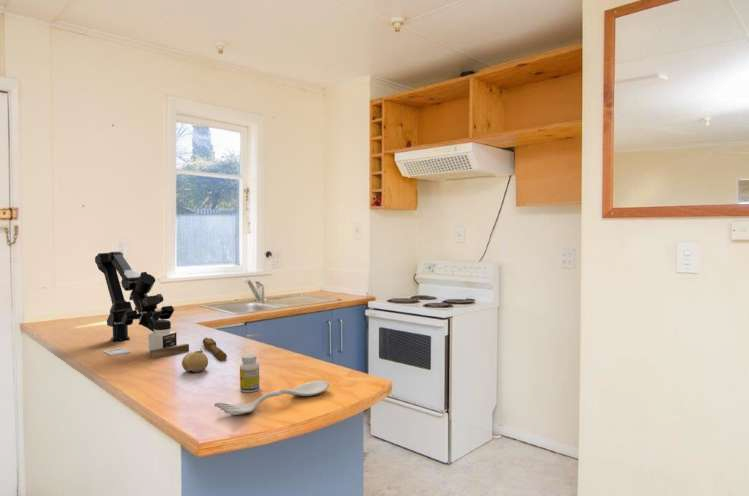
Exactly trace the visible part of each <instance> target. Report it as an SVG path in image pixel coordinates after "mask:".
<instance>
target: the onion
mask: <svg viewBox="0 0 749 496" xmlns="http://www.w3.org/2000/svg"><path fill="white" fill-rule="evenodd" d="M181 365H182V368H183V370H184V371H186V372H187V373H189V374H190V373H191V372H193V373H200V372H202V371H204V370H206V369H207V367H208V365H209V358H208V357H207V356H206V354H205V353H204V351H203V350H202V348H200V349H199V350H195V351H194V350H193V351H189V352H188V353H187V354H185V355H184V356H183V358H182V360H181Z"/></svg>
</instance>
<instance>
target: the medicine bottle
mask: <svg viewBox="0 0 749 496" xmlns="http://www.w3.org/2000/svg"><path fill="white" fill-rule="evenodd" d="M154 332H155V333H154ZM154 332H153V333H152V332H151V333H148V334H147V335H148V336H147V337H148V353H149V354H150V351H151V350H156V349H161V348H166V347H171V346H176V345H178V342H177V331H172V322H171V320H170V319H162V320H161V319H159V320H156V321H155V322H154Z"/></svg>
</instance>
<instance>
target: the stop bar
mask: <svg viewBox="0 0 749 496" xmlns="http://www.w3.org/2000/svg"><path fill="white" fill-rule="evenodd" d="M185 352H190V344H188V343H182V344H177V345H176V346H171V347H166V348H161V349H156V350H151V351H150V353H149V356H150V358H151V359H157V358H161V357H166V356H171V355H175V354H180V353H185Z"/></svg>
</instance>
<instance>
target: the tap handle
mask: <svg viewBox="0 0 749 496" xmlns="http://www.w3.org/2000/svg"><path fill="white" fill-rule="evenodd" d="M202 344H203V347H204V348H205V349H206V350H207V351H211V352H213V354H214V355H215V357H216V358H217V359H218V360H219V361H221V362H222V361H223V362H224V361H226V360H227V358H228V355H227V354H226V352H224V351H223V350H222V349H220V348H219V347H218V346H217V342H216V340H214V339H213V338H209V337H204V338H203V339H202Z"/></svg>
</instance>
